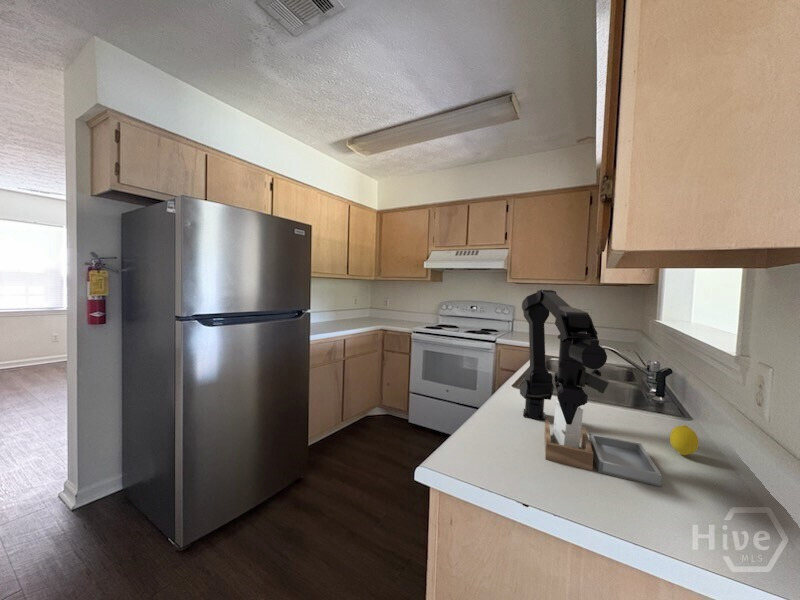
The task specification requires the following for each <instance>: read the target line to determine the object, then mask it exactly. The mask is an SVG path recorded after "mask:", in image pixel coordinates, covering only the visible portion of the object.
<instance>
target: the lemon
mask: <svg viewBox="0 0 800 600" xmlns="http://www.w3.org/2000/svg"><path fill="white" fill-rule="evenodd" d="M669 442H670V444H671V446H672V448H673V450H675V451H676V452H678V453H679V454H680V455H681V456H684V457H685V456H687V455H693V454H694V453H696V452H697V450H698V448H699V438H698V435H697V433H696V432H695V431H694V429H692V428H690V427H688V425H685V424H682V425H678V426H675V427H674V428H673V429H672V430H671V432H670V435H669Z"/></svg>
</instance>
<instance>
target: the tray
mask: <svg viewBox="0 0 800 600" xmlns="http://www.w3.org/2000/svg"><path fill="white" fill-rule="evenodd" d="M588 439H589V442H590V445H591V448H592V451H593V454H594V455H593V461H594V463H595V466H596V470H597V472H598V473H599V474H604V475H609V476H612V477H617V478H620V479H625V480H630V481H634V482H638V483H642V484H646V485H651V486H655V487H659V488H661V487H662V481H663V479H662V478H663V475H662V473H661V472H660V470H659V469H658V467H657V466H656V464H655V463H654V461H653V460H652V458H651V457H650V455H649V453H648V452H647V451H646V449H645V448H644V447H643V444H642V443H640V442H635V441H630V440H624V439H620V438H619V439H618V438H616V437H615V438H614V437H610V436H604V435H599V434H594V433H589V435H588Z"/></svg>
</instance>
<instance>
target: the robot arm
mask: <svg viewBox="0 0 800 600" xmlns="http://www.w3.org/2000/svg"><path fill="white" fill-rule="evenodd" d="M521 310H522V312H523V317H524V319H525V320H526V322H527V323H528V333H529V334H528V335H529V336H528V337H529V338H528V339H529V345H528V346H529V348H528V349H529V367H528V368H527V371H526V372H525V374H524V379H523V382H522V384H521V385H520V387H519V394H520V396H521V397H523V399H525V403H524V404H525V405H524V406H525V407H524V408H523V411H522V412H523V414H522V415H523V417H525V418H530V419H535V420H540V421H545V420H546V415H545V414H546V413H545V412H544V409H545V400H547V401H551V400H552V398H553V397H552V396H553V392H554V387H555V388H556V392H557V393H556V394H557V395H556V397H557V400H558V401H559V404H560V407H561V410H562V412H563V415H564V418H565V421H566V424H569V425H571V424H572V421H573V419H574V416H575V413H576V411H577V408H578V407H582V406H585V405H586V404H588V398H589V397H588V394H587V391H586V390H585V389H584V388H586V386H587V387H589V388H592V389H594V390H596V391H597V392H598V393H600V394H604V393H605V391H606V390H607V389H608V386H609V385H610V381H609V380H608V378H606V377H605V376H603V375H602V372H601V370H600V369H601V368H602V367H604V366H605V364H606V363H607V360H608V355H607V353H606V350H605V349H604V347H603V346H600V340H599V339H598V334H599V333H598V332H597V330H596V327H595V325H594V322H593V319H592V317H591V315H590V314H589V313H588V312H586V311H585V310H583V309H580V308H576V307H572V306H571V305H569V304H568V303H567V302H566V301H565V300H564V299H563V298H562V297H560V296H559V295H558V293H557V291H555V290H553V289H539V290H537V291H536V292H535V293H531V294H530V295H528V296H526V297H525V298H524V299H523V301H522V303H521ZM550 314H551V315H552V316H553V317H554V318H555V321H554V325H555V326H556V328H557V330H558V332H559V334H558V336H557V339H558V340H559V351H558V359H557V364H558V368H557V371H556V372H555V373H554V384H555V386H554V384H553V374H552V373H550V372H549V371H548V369H547V367H546V337H545V336H546V335H545V334H546V333H545V331H546V330H545V323H546V322H547V320H548V318H549V316H550ZM586 368H588V369H586Z"/></svg>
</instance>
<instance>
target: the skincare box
mask: <svg viewBox="0 0 800 600" xmlns="http://www.w3.org/2000/svg"><path fill="white" fill-rule="evenodd" d="M583 414H584V409H583V408H582V407H581V406H579V407H578V408H577V411H576V413H575V416H574V419H573V421H572V424H571V425H569V424H566V421H565V418H564V415H563V412H562V410H561V407H560V404H559V401H558V399H556V400H555V409H554V417H553V418H554V419H553V428H552V438H551V439H552V440H551V443H554V444H559V445H564V446H568V447H573V448H578V449H580V445H581V444H580V434H581V427H582V423H583Z"/></svg>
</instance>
